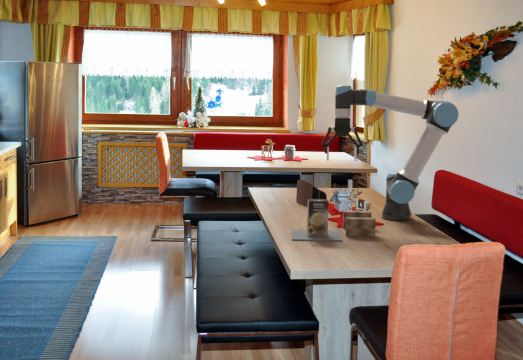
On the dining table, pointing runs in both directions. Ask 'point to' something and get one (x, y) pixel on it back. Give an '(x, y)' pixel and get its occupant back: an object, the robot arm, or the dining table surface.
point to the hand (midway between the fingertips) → (341, 160)
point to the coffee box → (317, 217)
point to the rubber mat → (302, 236)
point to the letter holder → (308, 192)
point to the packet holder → (359, 223)
